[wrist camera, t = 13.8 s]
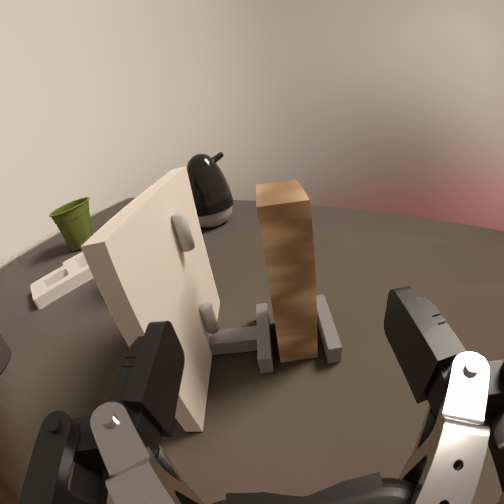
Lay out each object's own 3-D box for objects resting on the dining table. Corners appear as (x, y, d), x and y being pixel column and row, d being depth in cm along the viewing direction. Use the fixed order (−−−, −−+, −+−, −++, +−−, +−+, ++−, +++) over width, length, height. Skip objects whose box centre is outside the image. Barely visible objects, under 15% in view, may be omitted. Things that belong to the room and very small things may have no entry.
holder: (39, 312, 40) (33, 300, 38) (32, 282, 51) (28, 272, 50) (217, 215, 67) (215, 204, 66) (177, 208, 79) (174, 199, 77)
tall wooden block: (280, 362, 25) (256, 207, 18) (277, 321, 31) (255, 184, 24) (317, 357, 25) (309, 199, 18) (308, 316, 30) (296, 179, 23)
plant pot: (56, 257, 61) (41, 218, 56) (83, 237, 72) (70, 200, 66) (82, 255, 58) (66, 211, 53) (110, 233, 68) (97, 193, 63)
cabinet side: (185, 431, 19) (80, 246, 12) (208, 303, 35) (172, 169, 28) (355, 415, 18) (382, 198, 11) (317, 288, 34) (305, 147, 27)
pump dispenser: (246, 220, 59) (233, 148, 52) (200, 237, 55) (182, 161, 48) (224, 210, 67) (212, 148, 60) (184, 225, 63) (168, 160, 56)
